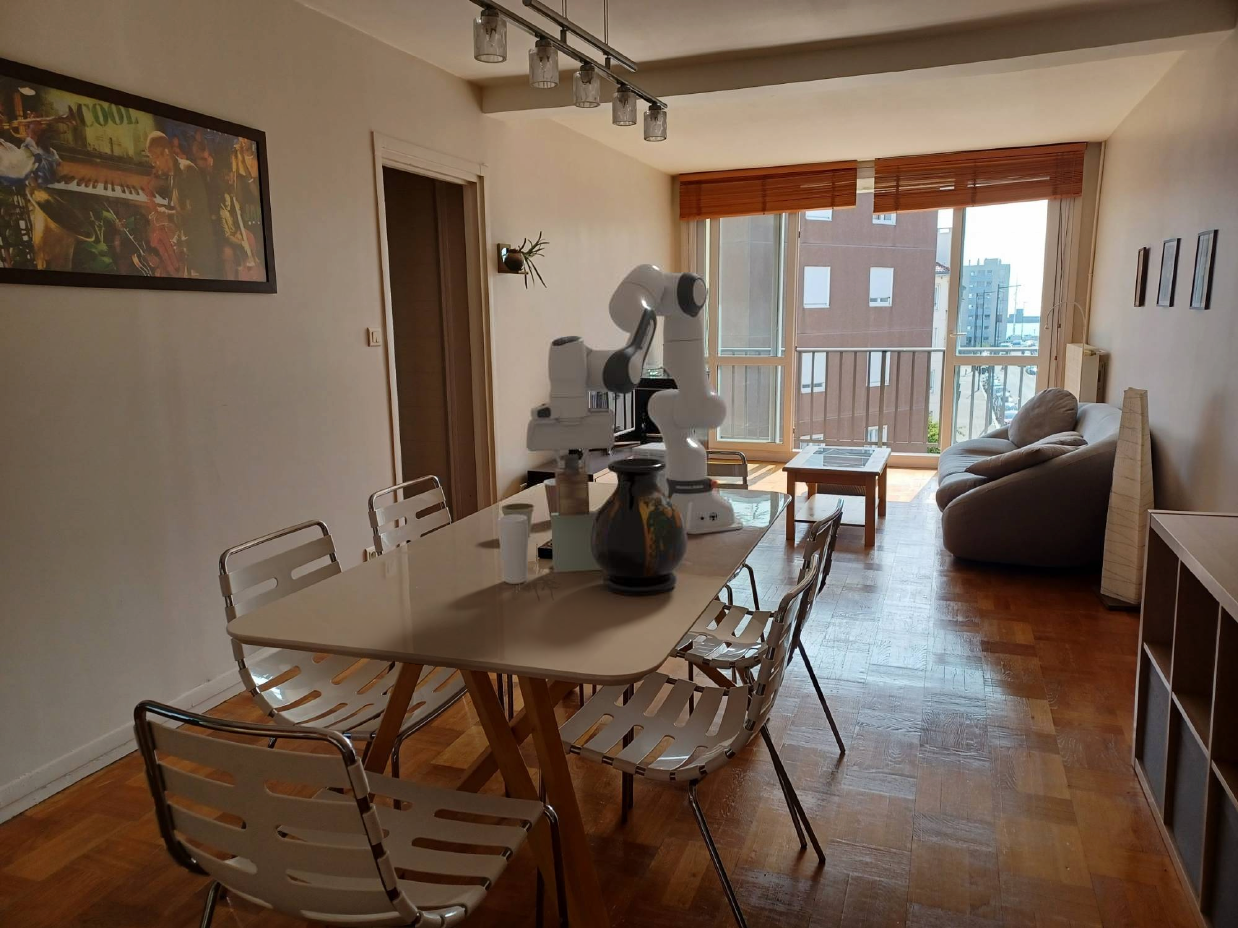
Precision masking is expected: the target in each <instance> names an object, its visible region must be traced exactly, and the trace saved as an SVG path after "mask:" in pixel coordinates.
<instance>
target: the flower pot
mask: <svg viewBox="0 0 1238 928" xmlns="http://www.w3.org/2000/svg"><path fill="white" fill-rule="evenodd" d="M535 507H536V506H535V505H534V504H533V503H526V502H525V503H524V502H517V503H508V504H503V505H501V506H500V509H501V513H502V515H503V516H507V515H524V516H526V517H527V521H528V538H530V536H531V528H532V518H533V513H534V509H535Z"/></svg>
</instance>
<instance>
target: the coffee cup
mask: <svg viewBox="0 0 1238 928" xmlns="http://www.w3.org/2000/svg"><path fill="white" fill-rule="evenodd" d="M543 484H544V489H545V497H546V501H547V502H546V503H547V508H548V514H549V518H550V520H551V513H558V511H557V490H556V485H555V478H550V479H545V480H544V481H543Z"/></svg>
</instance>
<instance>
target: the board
mask: <svg viewBox="0 0 1238 928" xmlns="http://www.w3.org/2000/svg"><path fill="white" fill-rule="evenodd" d="M598 511H599V510H589V514H588V515H568V516H559V515H558V513H551V519H550V522H551V523H550V524H551V541H552V543H551V544H552V546H551V547H552V568H553V573H565V572H566V573H567V572H582V571H584V572H585V571H599V570H602V569H601V568H600V567H599V565H598V564H597V563H596V561H595V560H594V557H593V555H592V550H591V533H592V526H593V523H594V519H595V517H596V515H597V513H598Z"/></svg>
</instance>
